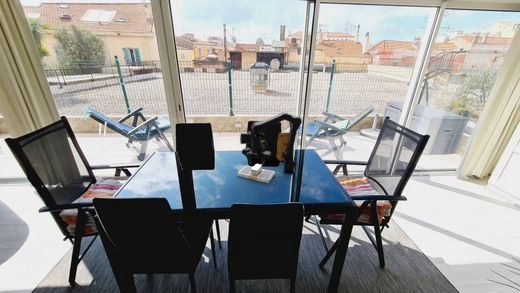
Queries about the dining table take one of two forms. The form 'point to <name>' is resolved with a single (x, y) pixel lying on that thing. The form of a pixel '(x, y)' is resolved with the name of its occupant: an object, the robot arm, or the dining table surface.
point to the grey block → (256, 170)
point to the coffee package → (282, 144)
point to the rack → (263, 176)
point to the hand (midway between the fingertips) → (256, 164)
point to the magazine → (263, 150)
